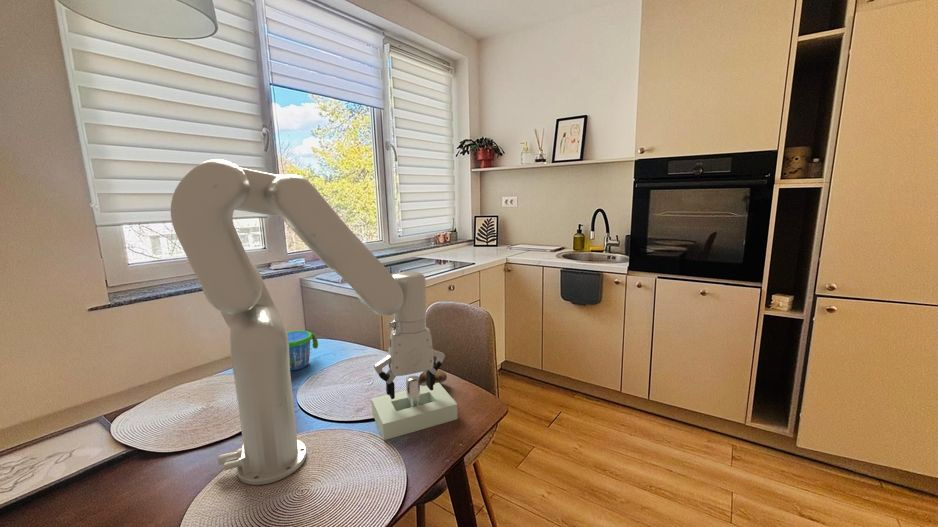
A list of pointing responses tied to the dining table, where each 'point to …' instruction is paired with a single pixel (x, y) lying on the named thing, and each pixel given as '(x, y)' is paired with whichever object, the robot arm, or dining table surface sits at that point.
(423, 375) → the mushroom
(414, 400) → the pin
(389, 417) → the slot block
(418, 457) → the dining table surface
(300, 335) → the snack cup
